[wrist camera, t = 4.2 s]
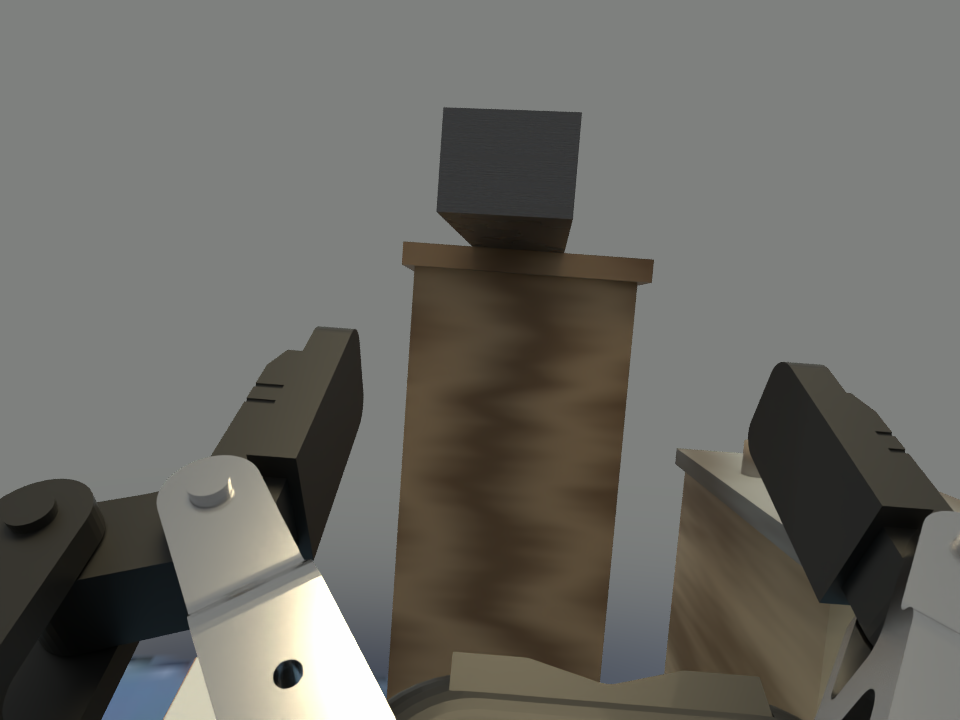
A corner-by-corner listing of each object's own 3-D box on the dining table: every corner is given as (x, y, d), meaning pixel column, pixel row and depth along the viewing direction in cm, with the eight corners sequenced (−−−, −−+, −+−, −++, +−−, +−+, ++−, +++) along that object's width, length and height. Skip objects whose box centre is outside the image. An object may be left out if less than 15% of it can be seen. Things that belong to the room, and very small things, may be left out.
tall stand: (561, 759, 39) (605, 276, 37) (589, 932, 28) (653, 259, 26) (397, 745, 39) (429, 263, 37) (361, 911, 28) (403, 241, 26)
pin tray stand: (825, 781, 39) (870, 435, 37) (1084, 1141, 22) (1188, 536, 20) (644, 765, 39) (679, 420, 37) (761, 1111, 22) (836, 508, 20)
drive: (558, 275, 39) (562, 227, 39) (572, 219, 17) (581, 108, 17) (498, 271, 39) (501, 224, 39) (436, 211, 17) (443, 103, 17)
